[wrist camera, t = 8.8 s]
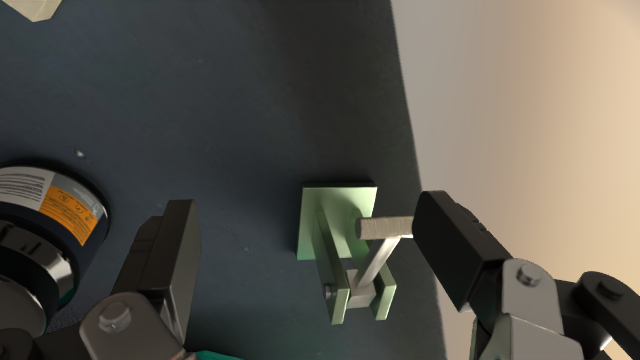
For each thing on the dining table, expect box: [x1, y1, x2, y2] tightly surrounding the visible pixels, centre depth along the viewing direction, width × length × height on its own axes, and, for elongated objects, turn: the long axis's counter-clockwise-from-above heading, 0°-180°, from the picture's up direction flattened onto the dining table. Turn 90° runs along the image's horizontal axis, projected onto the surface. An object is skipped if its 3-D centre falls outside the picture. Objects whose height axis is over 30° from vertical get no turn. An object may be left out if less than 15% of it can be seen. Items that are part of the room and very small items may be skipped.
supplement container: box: [0, 161, 111, 338], centre depth 25 cm, size 10×10×12 cm
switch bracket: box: [295, 182, 396, 325], centre depth 32 cm, size 10×8×12 cm
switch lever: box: [345, 216, 414, 309], centre depth 25 cm, size 12×5×2 cm, turn 174°
